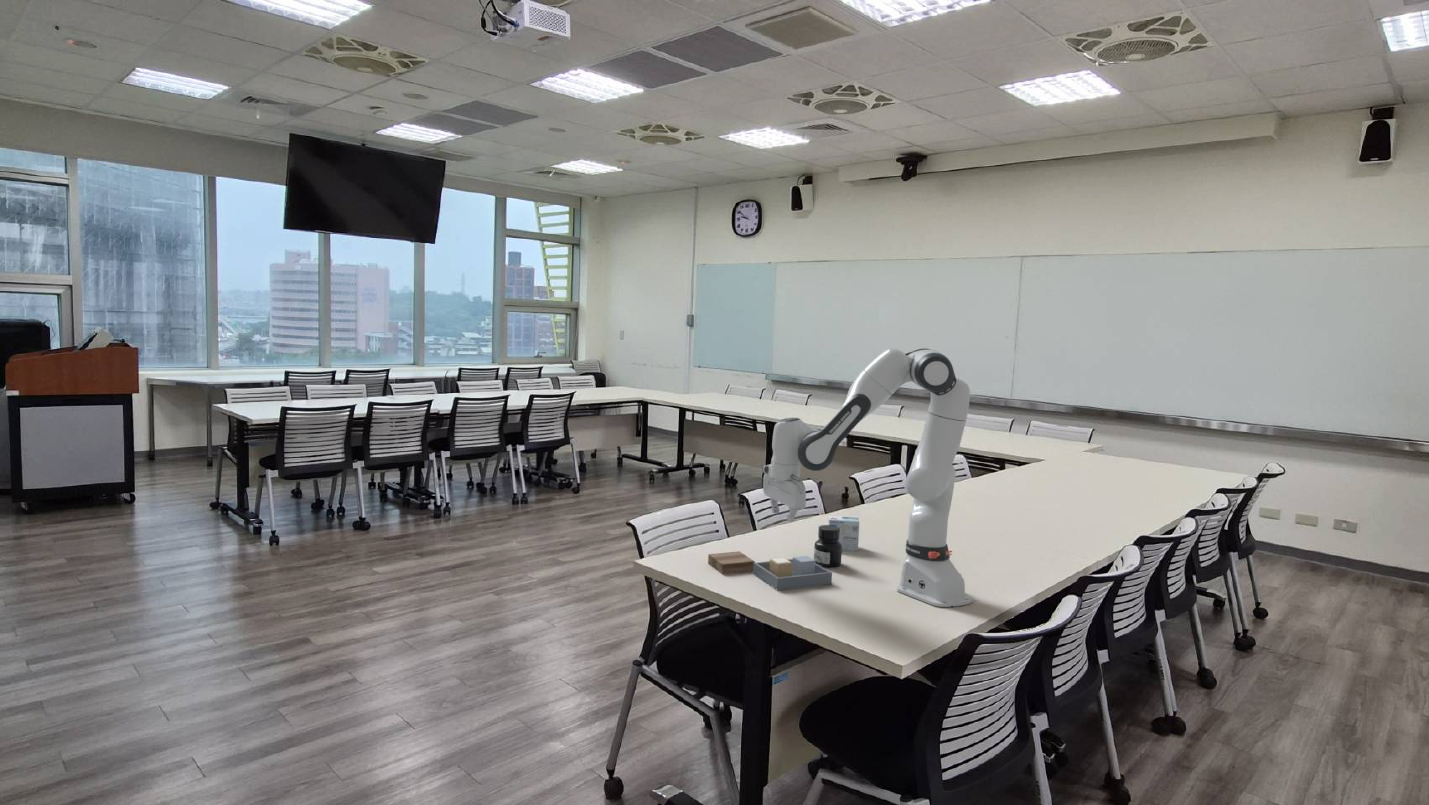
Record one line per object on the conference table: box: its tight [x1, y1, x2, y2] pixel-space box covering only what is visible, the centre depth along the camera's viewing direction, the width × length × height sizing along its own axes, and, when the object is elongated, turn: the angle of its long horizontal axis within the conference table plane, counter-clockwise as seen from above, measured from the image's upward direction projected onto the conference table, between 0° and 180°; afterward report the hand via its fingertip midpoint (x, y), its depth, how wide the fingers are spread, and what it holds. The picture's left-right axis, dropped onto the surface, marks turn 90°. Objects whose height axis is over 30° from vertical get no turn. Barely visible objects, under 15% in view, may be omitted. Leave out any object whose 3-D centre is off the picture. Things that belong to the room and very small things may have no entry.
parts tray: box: [752, 558, 833, 591], centre depth 238 cm, size 16×19×4 cm
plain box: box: [792, 555, 815, 576], centre depth 240 cm, size 5×5×6 cm
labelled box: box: [769, 557, 792, 578], centre depth 236 cm, size 5×5×6 cm
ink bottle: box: [813, 524, 843, 568], centre depth 255 cm, size 10×9×12 cm
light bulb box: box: [827, 515, 860, 552], centre depth 273 cm, size 11×7×11 cm, turn 84°
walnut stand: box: [707, 551, 756, 575], centre depth 247 cm, size 11×11×3 cm
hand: (782, 517), depth 235 cm, fingers open, 8 cm apart
